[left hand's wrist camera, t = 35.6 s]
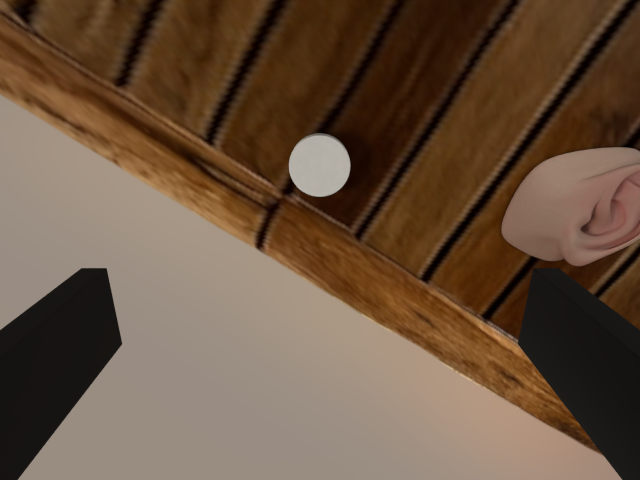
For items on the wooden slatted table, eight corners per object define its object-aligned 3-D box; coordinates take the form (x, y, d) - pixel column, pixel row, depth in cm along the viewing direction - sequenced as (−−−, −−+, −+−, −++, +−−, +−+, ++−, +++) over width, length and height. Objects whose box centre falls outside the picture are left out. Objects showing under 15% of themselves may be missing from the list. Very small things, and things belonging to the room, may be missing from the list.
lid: (336, 199, 39) (337, 204, 37) (282, 180, 38) (281, 184, 37) (357, 145, 37) (359, 148, 36) (301, 124, 37) (300, 126, 35)
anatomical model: (511, 275, 37) (539, 149, 33) (494, 258, 41) (517, 143, 37) (653, 279, 37) (698, 155, 33) (623, 262, 41) (660, 148, 37)
